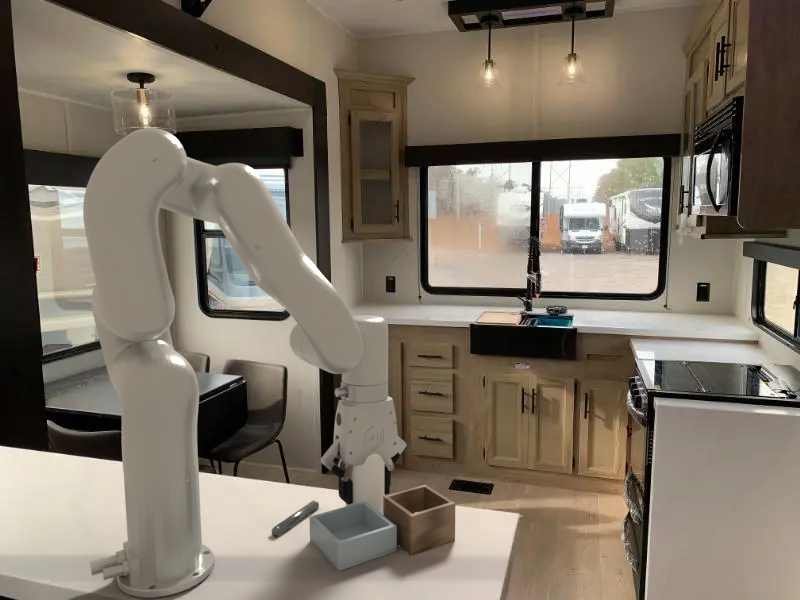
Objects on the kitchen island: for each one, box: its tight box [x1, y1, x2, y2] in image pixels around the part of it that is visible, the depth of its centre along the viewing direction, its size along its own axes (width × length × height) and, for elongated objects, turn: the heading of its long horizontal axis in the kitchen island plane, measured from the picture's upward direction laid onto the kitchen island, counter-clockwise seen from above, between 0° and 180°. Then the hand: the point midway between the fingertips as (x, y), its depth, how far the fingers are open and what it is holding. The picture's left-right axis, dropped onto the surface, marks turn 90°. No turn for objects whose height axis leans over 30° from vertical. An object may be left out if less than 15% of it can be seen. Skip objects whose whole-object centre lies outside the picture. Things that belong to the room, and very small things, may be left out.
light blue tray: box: [309, 501, 398, 572], centre depth 91 cm, size 10×10×4 cm
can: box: [345, 449, 385, 515], centre depth 101 cm, size 6×6×12 cm
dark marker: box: [271, 500, 320, 538], centre depth 99 cm, size 12×2×2 cm, turn 153°
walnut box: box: [382, 484, 456, 556], centre depth 94 cm, size 8×8×6 cm
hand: (365, 495), depth 101 cm, fingers closed on can, 6 cm apart
